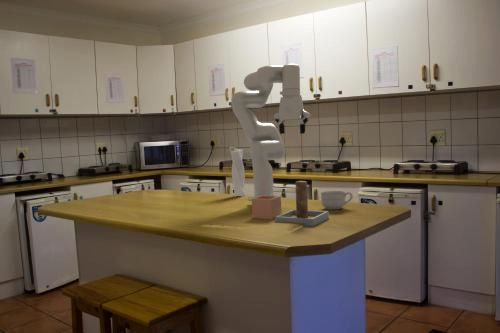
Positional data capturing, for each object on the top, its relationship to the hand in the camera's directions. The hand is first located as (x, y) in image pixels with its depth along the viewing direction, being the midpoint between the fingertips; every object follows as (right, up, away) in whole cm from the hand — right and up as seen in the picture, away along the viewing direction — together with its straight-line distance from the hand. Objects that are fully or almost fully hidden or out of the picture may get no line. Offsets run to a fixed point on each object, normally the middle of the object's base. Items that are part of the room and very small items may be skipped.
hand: (292, 133), depth 204 cm
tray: (+3, -36, -15) cm, 39 cm away
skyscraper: (-25, -31, +63) cm, 75 cm away
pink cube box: (-11, -36, -7) cm, 38 cm away
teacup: (+21, -34, +8) cm, 40 cm away
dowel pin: (+3, -35, -15) cm, 38 cm away
